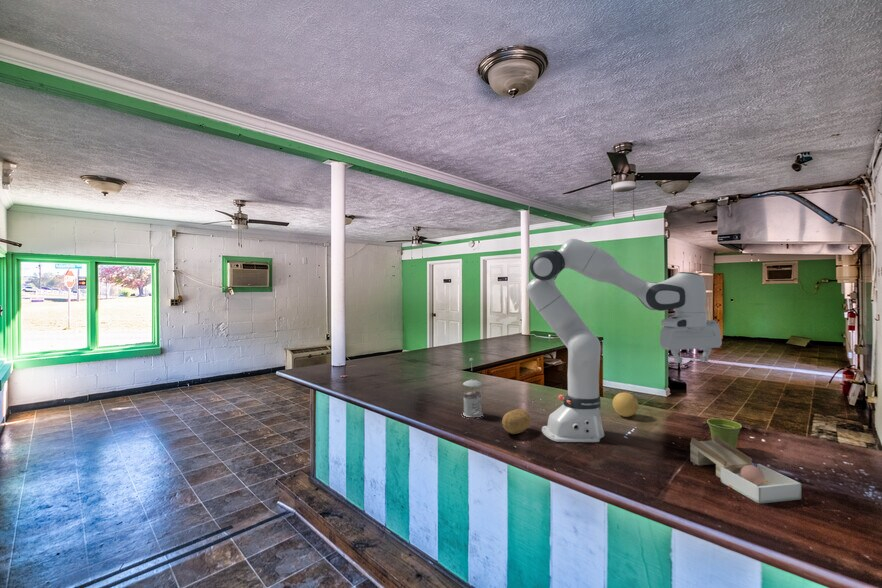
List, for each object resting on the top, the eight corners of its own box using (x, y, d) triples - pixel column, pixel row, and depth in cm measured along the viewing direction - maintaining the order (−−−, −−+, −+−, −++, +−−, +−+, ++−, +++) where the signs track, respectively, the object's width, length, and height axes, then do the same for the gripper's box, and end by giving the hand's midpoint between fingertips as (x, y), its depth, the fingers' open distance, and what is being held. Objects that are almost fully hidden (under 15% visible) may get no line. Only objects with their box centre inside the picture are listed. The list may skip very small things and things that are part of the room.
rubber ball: (736, 480, 106) (735, 462, 106) (752, 479, 107) (751, 461, 107) (753, 489, 102) (752, 471, 101) (769, 488, 102) (769, 469, 102)
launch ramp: (724, 480, 108) (724, 454, 108) (690, 460, 120) (689, 437, 120) (752, 477, 109) (752, 451, 109) (716, 458, 121) (715, 435, 121)
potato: (494, 435, 145) (494, 414, 145) (513, 424, 156) (512, 405, 156) (518, 441, 139) (517, 419, 138) (535, 429, 149) (535, 409, 149)
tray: (758, 503, 96) (758, 487, 96) (720, 481, 107) (720, 467, 107) (801, 499, 98) (801, 483, 98) (759, 477, 109) (759, 463, 109)
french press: (456, 415, 168) (455, 358, 168) (472, 409, 177) (471, 354, 177) (475, 420, 162) (474, 360, 162) (490, 413, 171) (489, 356, 170)
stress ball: (614, 420, 161) (631, 409, 154) (603, 398, 167) (620, 387, 160) (630, 420, 165) (648, 410, 158) (620, 399, 171) (636, 388, 164)
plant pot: (749, 454, 124) (749, 427, 124) (722, 455, 123) (721, 428, 123) (726, 442, 133) (725, 417, 133) (700, 444, 133) (700, 419, 133)
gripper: (710, 319, 133) (711, 359, 133) (656, 321, 130) (657, 361, 131) (726, 320, 127) (727, 362, 127) (669, 322, 124) (670, 365, 124)
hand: (691, 362), depth 129 cm, fingers open, 8 cm apart
